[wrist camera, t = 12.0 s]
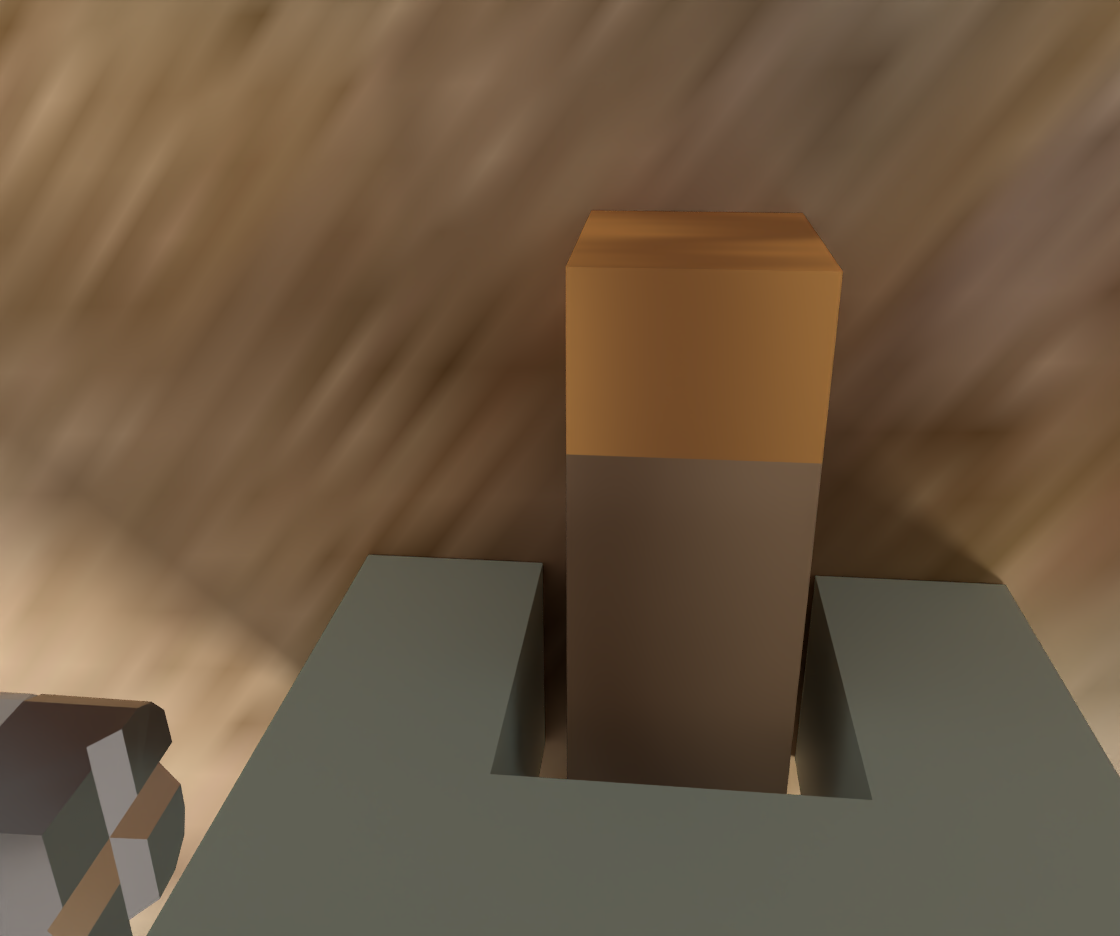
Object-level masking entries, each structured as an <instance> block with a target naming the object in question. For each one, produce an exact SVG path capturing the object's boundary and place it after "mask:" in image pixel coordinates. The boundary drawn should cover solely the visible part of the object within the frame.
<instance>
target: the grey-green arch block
mask: <svg viewBox="0 0 1120 936" xmlns="http://www.w3.org/2000/svg"><path fill="white" fill-rule="evenodd" d="M544 746H545V702H544V628H543V563H534V562H513V561H492V560H470V559H449V558H428V557H407V556H385V555H368V557H367V558H366V560H365V562H364V563H363V565H362V567H361V569H360V570H359V572H358V574H357V575H356V577H355V579H354V581H353V582H352V584H351V586H350V587H349V589H348V591H347V593H346V594H345V596H344V598H343V599H342V601H341V603H340V605H339V606H338V608H337V610H336V611H335V613H334V615H333V617H332V618H331V620H330V622H329V623H328V625H327V627H326V629H325V630H324V632H323V634H322V635H321V637H320V639H319V641H318V642H317V644H316V646H315V647H314V649H313V651H312V653H311V654H310V656H309V658H308V659H307V661H306V663H305V665H304V666H303V668H302V670H301V671H300V673H299V675H298V677H297V678H296V680H295V682H294V683H293V685H292V687H291V689H290V690H289V692H288V694H287V695H286V697H285V699H284V701H283V702H282V704H281V706H280V708H279V709H278V711H277V713H276V714H275V716H274V718H273V720H272V721H271V723H270V725H269V726H268V728H267V730H266V732H265V733H264V735H263V737H262V738H261V740H260V742H259V744H258V745H257V747H256V749H255V750H254V752H253V754H252V756H251V757H250V759H249V761H248V762H247V764H246V766H245V768H244V769H243V771H242V773H241V774H240V776H239V778H238V780H237V781H236V783H235V785H234V786H233V788H232V790H231V792H230V793H229V795H228V797H227V798H226V800H225V802H224V804H223V805H222V807H221V809H220V810H219V812H218V814H217V816H216V817H215V819H214V821H213V822H212V824H211V826H210V828H209V829H208V831H207V833H206V834H205V836H204V838H203V840H202V841H201V843H200V845H199V846H198V848H197V850H196V852H195V853H194V855H193V857H192V859H191V860H190V862H189V864H188V865H187V867H186V869H185V871H184V872H183V874H182V876H181V877H180V879H179V881H178V883H177V884H176V886H175V888H174V889H173V891H172V893H171V895H170V896H169V898H168V900H167V901H166V903H165V905H164V907H163V908H162V910H161V912H160V913H159V915H158V917H157V919H156V920H155V922H154V924H153V925H152V927H151V929H150V931H149V932H148V934H147V936H1120V777H1119V775H1118V774H1117V772H1116V770H1115V769H1114V767H1113V765H1112V764H1111V762H1110V760H1109V759H1108V757H1107V755H1106V753H1105V752H1104V750H1103V748H1102V747H1101V745H1100V743H1099V742H1098V740H1097V738H1096V737H1095V735H1094V733H1093V732H1092V730H1091V728H1090V726H1089V725H1088V723H1087V721H1086V720H1085V718H1084V716H1083V715H1082V713H1081V711H1080V710H1079V708H1078V706H1077V705H1076V703H1075V701H1074V699H1073V698H1072V696H1071V694H1070V693H1069V691H1068V689H1067V688H1066V686H1065V684H1064V683H1063V681H1062V679H1061V678H1060V676H1059V674H1058V672H1057V671H1056V669H1055V667H1054V666H1053V664H1052V662H1051V661H1050V659H1049V657H1048V656H1047V654H1046V652H1045V651H1044V649H1043V647H1042V645H1041V644H1040V642H1039V640H1038V639H1037V637H1036V635H1035V634H1034V632H1033V630H1032V629H1031V627H1030V625H1029V624H1028V622H1027V620H1026V618H1025V617H1024V615H1023V613H1022V612H1021V610H1020V608H1019V607H1018V605H1017V603H1016V602H1015V600H1014V598H1013V597H1012V595H1011V593H1010V591H1009V590H1008V588H1007V586H1006V585H1002V584H980V583H959V582H938V581H917V580H895V579H874V578H853V577H832V576H815V584H814V593H813V602H812V611H811V620H810V629H809V638H808V647H807V656H806V665H805V674H804V683H803V692H802V701H801V710H800V719H799V728H798V737H797V746H796V755H795V762H796V768H797V774H798V780H799V786H800V792H801V795H791V794H776V793H761V792H747V791H732V790H717V789H702V788H688V787H673V786H658V785H644V784H629V783H614V782H600V781H585V780H570V779H556V778H541V777H539V773H540V768H541V762H542V757H543V751H544Z"/></svg>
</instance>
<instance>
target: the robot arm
mask: <svg viewBox="0 0 1120 936" xmlns="http://www.w3.org/2000/svg"><path fill="white" fill-rule="evenodd" d="M171 743H172V740H171V736H170V732H169V728H168V724H167V720H166V716H165V712H164V710H163V709H162V708H160V707H159V706H157V705H156V704H154V703H152V702H148V701H134V700H120V699H106V698H92V697H77V696H63V695H49V694H40V695H34V694H25V693H9V692H0V936H133V935H132V931H131V927H130V923H129V920H130V919H131V918H133V917H134V916H135V915H137V914H138V913H140V912H141V911H143V910H144V909H146V908H147V907H148V906H150V905H151V904H153V903H154V902H156V901H157V900H159V899H160V897H161V896H162V894H163V892H164V890H165V888H166V886H167V884H168V882H169V880H170V878H171V877H172V875H173V873H174V871H175V868H176V864H177V861H178V857H179V853H180V849H181V845H182V841H183V838H184V823H185V806H184V800H183V795H182V789H181V784H180V783H179V782H178V781H177V780H176V779H175V778H174V777H173V776H172V775H171V774H170V773H169V772H168V771H167V770H166V769H165V768H164V767H163V766H162V765H161V764H160V763H159V761H160V760H161V758H162V757H163V755H164V754H165V752H166V750H167V749H168V747H169V746H170V744H171Z"/></svg>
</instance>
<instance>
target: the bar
mask: <svg viewBox="0 0 1120 936" xmlns="http://www.w3.org/2000/svg"><path fill="white" fill-rule="evenodd" d="M842 276H843V271H842V270H841V268H840V267H839V265H838V264H837V262H836V261H835V259H834V258H833V256H832V255H831V253H830V252H829V251H828V249H827V248H826V246H825V245H824V243H823V242H822V240H821V239H820V237H819V236H818V234H817V233H816V232H815V230H814V229H813V227H812V226H811V224H810V223H809V221H808V220H807V218H806V217H805V215H804V214H803V213H761V212H678V211H595V210H591V213H590V215H589V217H588V219H587V221H586V223H585V226H584V228H583V230H582V232H581V234H580V237H579V239H578V241H577V243H576V245H575V247H574V250H573V252H572V254H571V256H570V258H569V260H568V263H567V265H566V555H567V779H570V780H585V781H600V782H614V783H629V784H644V785H658V786H673V787H688V788H702V789H717V790H732V791H747V792H761V793H776V794H787V784H788V775H789V766H790V757H791V747H792V738H793V729H794V720H795V710H796V701H797V692H798V683H799V673H800V664H801V655H802V646H803V636H804V627H805V618H806V609H807V600H808V590H809V581H810V572H811V563H812V553H813V544H814V535H815V526H816V516H817V507H818V498H819V489H820V479H821V470H822V461H823V452H824V442H825V433H826V424H827V415H828V406H829V396H830V387H831V378H832V369H833V359H834V350H835V341H836V332H837V322H838V313H839V304H840V295H841V285H842Z"/></svg>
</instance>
